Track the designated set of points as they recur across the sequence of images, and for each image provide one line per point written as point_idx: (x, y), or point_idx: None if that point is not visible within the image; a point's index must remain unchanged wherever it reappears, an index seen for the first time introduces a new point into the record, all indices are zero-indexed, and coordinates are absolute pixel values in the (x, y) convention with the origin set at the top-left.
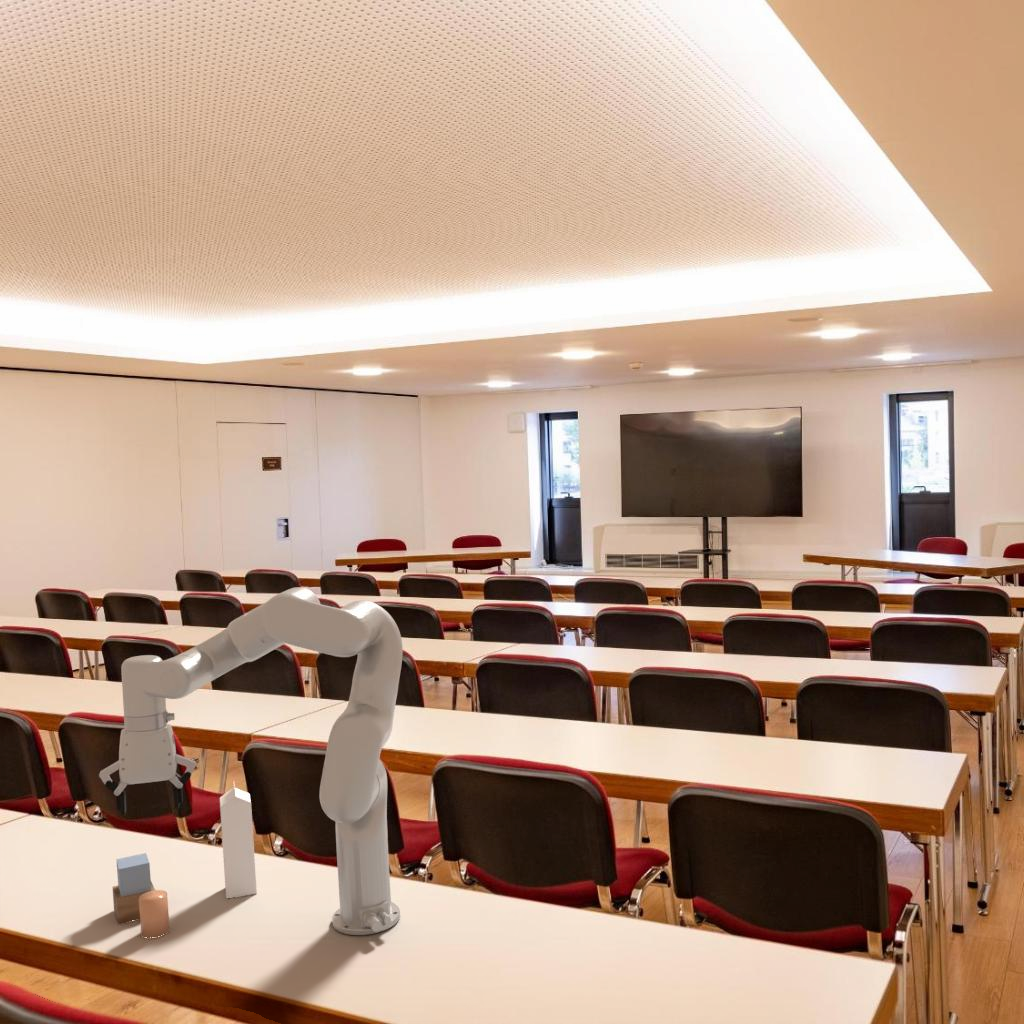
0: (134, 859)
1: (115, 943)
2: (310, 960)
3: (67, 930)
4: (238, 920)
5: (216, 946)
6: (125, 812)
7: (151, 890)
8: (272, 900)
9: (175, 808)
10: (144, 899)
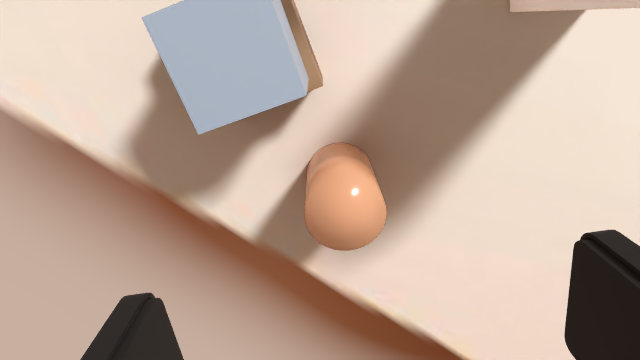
0: (229, 42)
1: (257, 207)
2: None
3: (104, 115)
4: (536, 154)
5: (484, 263)
6: (179, 357)
7: (309, 79)
8: (636, 53)
9: (573, 344)
10: (325, 231)
